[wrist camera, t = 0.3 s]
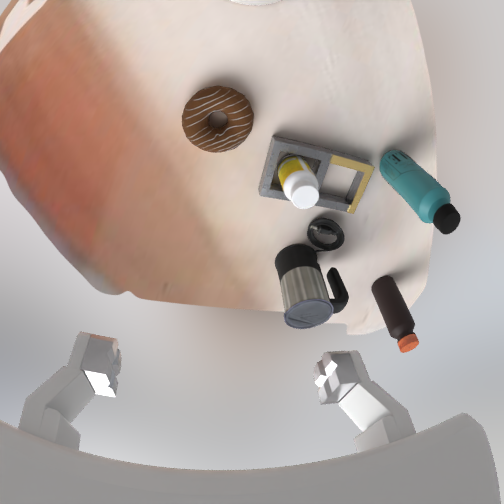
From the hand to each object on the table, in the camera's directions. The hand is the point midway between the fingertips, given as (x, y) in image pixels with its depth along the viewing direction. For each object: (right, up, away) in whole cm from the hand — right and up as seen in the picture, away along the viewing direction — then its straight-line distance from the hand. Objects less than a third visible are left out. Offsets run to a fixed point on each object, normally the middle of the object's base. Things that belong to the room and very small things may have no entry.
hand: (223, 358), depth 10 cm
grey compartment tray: (+12, +18, +36) cm, 42 cm away
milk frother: (+12, +5, +48) cm, 50 cm away
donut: (-4, +25, +29) cm, 38 cm away
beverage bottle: (+26, +21, +35) cm, 49 cm away
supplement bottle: (+8, +18, +36) cm, 41 cm away
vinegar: (+36, -4, +59) cm, 69 cm away
